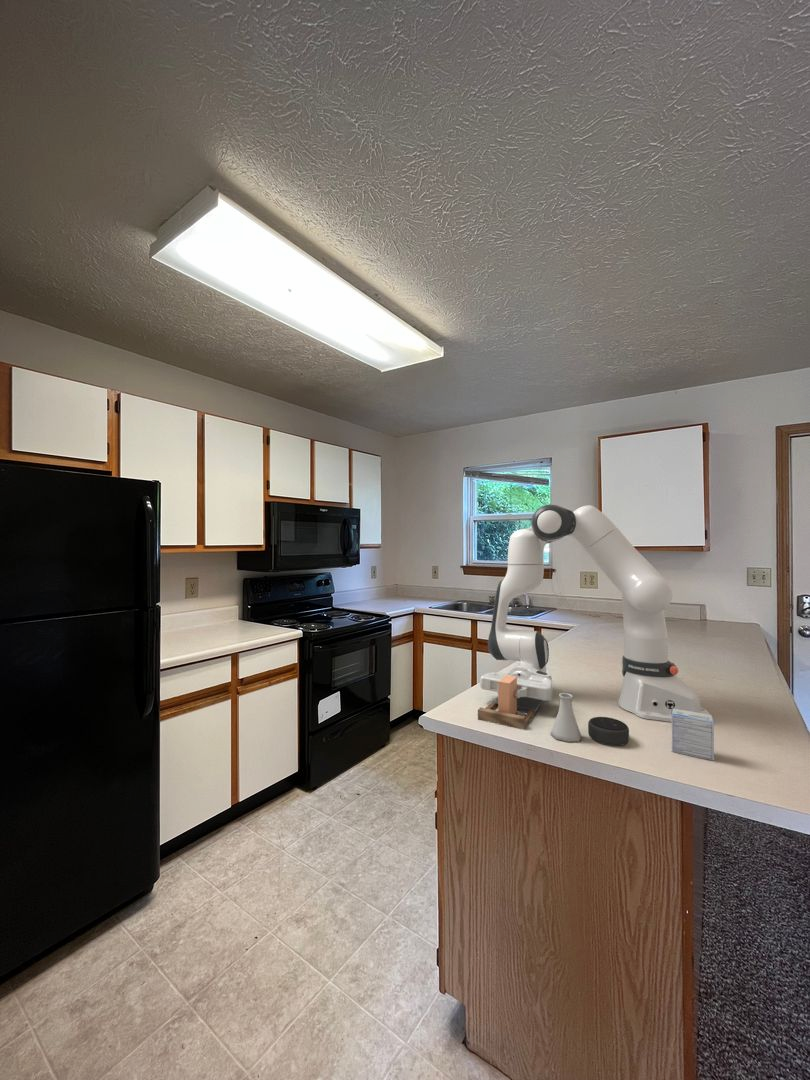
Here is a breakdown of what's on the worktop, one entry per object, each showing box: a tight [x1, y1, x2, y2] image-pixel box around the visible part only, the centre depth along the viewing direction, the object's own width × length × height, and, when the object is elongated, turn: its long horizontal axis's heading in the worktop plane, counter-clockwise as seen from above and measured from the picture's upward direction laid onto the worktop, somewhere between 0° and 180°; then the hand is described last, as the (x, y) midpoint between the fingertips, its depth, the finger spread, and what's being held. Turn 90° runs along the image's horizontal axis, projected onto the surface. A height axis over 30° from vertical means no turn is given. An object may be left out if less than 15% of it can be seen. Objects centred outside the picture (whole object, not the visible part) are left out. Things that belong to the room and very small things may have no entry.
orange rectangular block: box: [497, 675, 518, 715], centre depth 118 cm, size 3×7×10 cm, turn 149°
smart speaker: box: [587, 716, 630, 747], centre depth 105 cm, size 9×9×4 cm
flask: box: [550, 692, 583, 743], centre depth 106 cm, size 7×7×10 cm
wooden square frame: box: [477, 700, 537, 730], centre depth 118 cm, size 12×12×2 cm
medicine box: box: [671, 709, 715, 761], centre depth 98 cm, size 8×4×9 cm, turn 58°
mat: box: [517, 697, 544, 711], centre depth 129 cm, size 11×9×1 cm
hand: (507, 693), depth 118 cm, fingers closed on orange rectangular block, 3 cm apart
